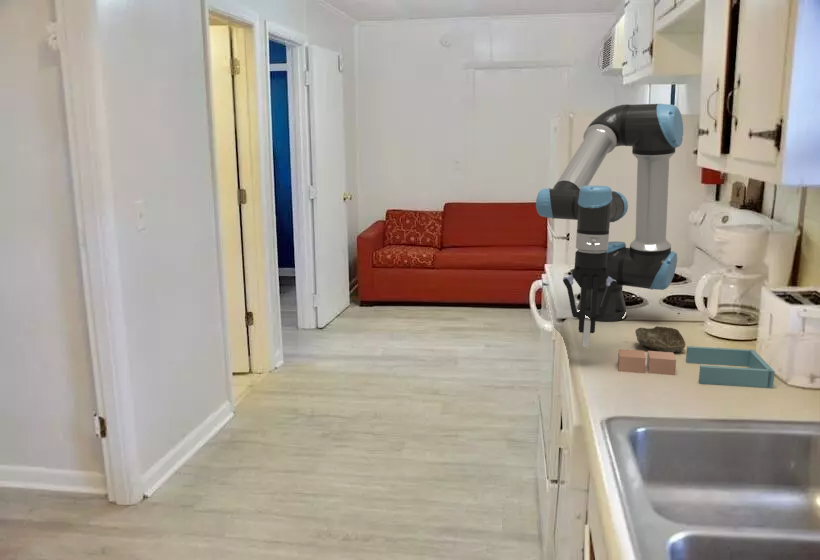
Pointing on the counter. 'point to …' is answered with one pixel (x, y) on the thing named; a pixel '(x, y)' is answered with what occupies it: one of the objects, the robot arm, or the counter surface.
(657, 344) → the stone
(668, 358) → the tile
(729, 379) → the tray
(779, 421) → the counter surface
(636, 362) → the tile
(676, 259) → the robot arm
